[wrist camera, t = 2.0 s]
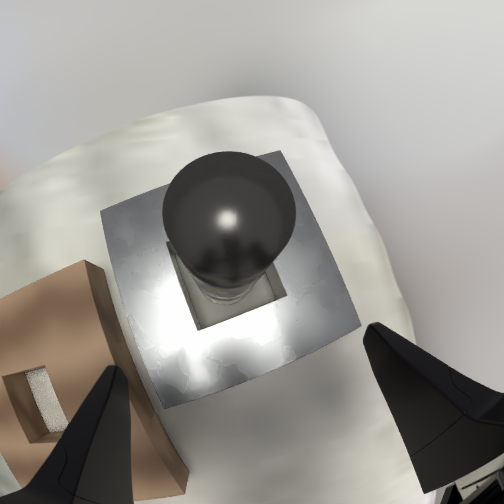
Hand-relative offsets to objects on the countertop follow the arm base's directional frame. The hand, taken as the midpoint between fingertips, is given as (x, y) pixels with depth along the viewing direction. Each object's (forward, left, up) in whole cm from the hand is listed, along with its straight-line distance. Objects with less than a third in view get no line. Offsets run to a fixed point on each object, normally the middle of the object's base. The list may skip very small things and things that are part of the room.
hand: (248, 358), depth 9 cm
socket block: (+5, -1, -11) cm, 12 cm away
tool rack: (-1, +17, -11) cm, 20 cm away
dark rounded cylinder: (+5, -1, -11) cm, 12 cm away
